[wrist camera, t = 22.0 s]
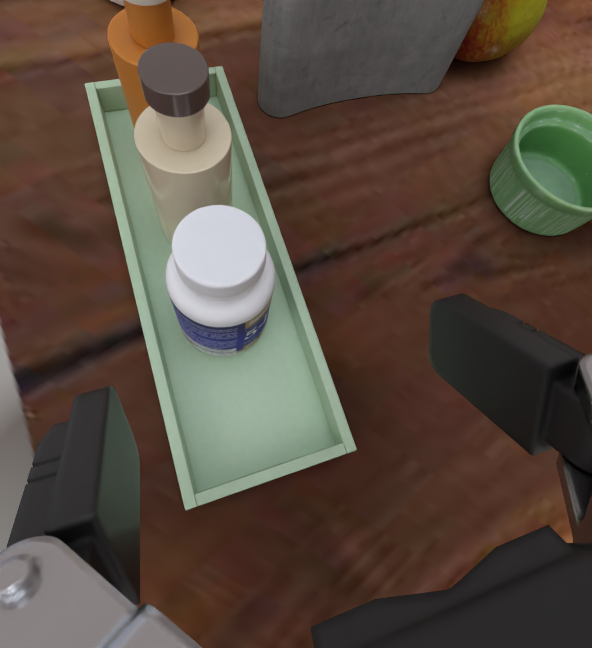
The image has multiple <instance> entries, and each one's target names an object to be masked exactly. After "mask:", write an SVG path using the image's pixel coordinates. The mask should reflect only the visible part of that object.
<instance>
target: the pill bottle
mask: <svg viewBox="0 0 592 648" xmlns="http://www.w3.org/2000/svg"><path fill="white" fill-rule="evenodd" d="M166 285H167V290H168V294H169V296H170V299H171V302H172V305H173V307H174V310H175V313H176V316H177V319H178V321H179V324H180V327H181V330H182V331H183V333H184V335H185V337H186V338H187V340H188V341H189V342H190V343H191V344H192V345H193V346H194V347H195V348H197V349H198V350H200V351H202V352H204V353H206V354H209V355H213V356H220V357H226V356H233V355H237V354H240V353H242V352H244V351H246V350H248V349H249V348H251V347H252V346H253V345H254V344H255V343H256V342H257V341H258V340H259V338H260V337H261V335H262V333H263V331H264V329H265V326H266V322H267V318H268V313H269V308H270V304H271V299H272V295H273V291H274V285H275V268H274V264H273V261H272V258H271V256H270V254H269V252H268V250H267V248H266V239H265V236H264V233H263V231H262V229H261V227H260V226H259V224H258V223H257V222H256V221H255V220H254V219H253V218H252V217H251V216H250V215H249V214H247V213H246V212H244V211H242V210H240V209H237V208H235V207H231V206H226V205H210V206H205V207H202V208H199V209H197V210H195V211H193V212H191V213H190V214H188V215H187V216H186V217H185V218H184V219H183V220H182V221H181V222H180V223H179V225H178V226H177V228H176V230H175V232H174V235H173V239H172V253H171V255H170V257H169V259H168V262H167V267H166Z"/></svg>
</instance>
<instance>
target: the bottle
mask: <svg viewBox="0 0 592 648" xmlns="http://www.w3.org/2000/svg"><path fill="white" fill-rule="evenodd" d="M110 1H112V2H114V3H116V4H119V5H122V6H124V2H123V0H110Z"/></svg>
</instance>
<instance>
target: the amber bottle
mask: <svg viewBox="0 0 592 648" xmlns="http://www.w3.org/2000/svg"><path fill="white" fill-rule="evenodd" d="M123 2H124V6H125V9H123V10H122V11H120V12H119V13H118V14H116V15H115V16H114V18H113V19H112V20H111V22H110V24H109V26H108V31H107V37H108V42H109V46H110V49H111V52H112V56H113V59H114V62H115V66H116V69H117V73H118V76H119V79H120V83H121V86H122V89H123V93H124V96H125V100H126V103H127V106H128V110H129V113H130V116H131V120H132V123H133V127H134V128H135V124H136V121H137V119H138V118H139V116H140V115H141V113H142V112H143V111H144V110H145V109H146V108H147V107H149V105H148V103H147V102H146V100H145V98H144V95H143V91H142V87H141V83H140V79H139V75H138V70H137V65H138V61H139V58H140V57H141V55H142V54H143V53H144V52H145V51H146V50H147V49H148V48H150V47H152V46H154V45H157V44H160V43H166V42H175V43H181V44H185V45H188V46H190V47H192V48H194V49H196V50H197V51H198V52H199V53H200V49H199V37H198V32H197V29H196V27H195V25H194V24H193V22H192V21H191V20H190V19H189V18H188V17H187V16H186V15H185V14H184V13H182V12H181V11H179V10H177V9H175V8H173V7H171V1H170V0H123Z"/></svg>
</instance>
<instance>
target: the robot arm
mask: <svg viewBox="0 0 592 648" xmlns="http://www.w3.org/2000/svg"><path fill="white" fill-rule="evenodd" d="M429 356H430V360H431V363H432V366H433V367H434V369H435V371H436V372H437V373H438V374H439V375H440V376H441V377H442V378H443V379H444V380H446V381H447V382H448V383H449V384H450V385H451V386H452V387H454V388H455V389H456V390H457V391H458V392H459V393H460V394H462V395H463V396H464V397H465V398H466V399H467V400H468V401H470V402H471V403H472V404H473V405H474V406H475V407H477V408H478V409H479V410H480V411H481V412H482V413H483V414H485V415H486V416H487V417H488V418H489V419H490V420H491V421H493V422H494V423H495V424H496V425H497V426H498V427H499V428H501V429H502V430H503V431H504V432H505V433H506V434H508V435H509V436H510V437H511V438H512V439H513V440H514V441H516V442H517V443H518V444H519V445H520V446H521V447H522V448H524V449H525V450H526V451H527V452H528V453H529V454H530V455H532V456H533V455H536V454H539V453H541V452H544V451H547V450H549V449H552V448H555V449H556V450H557V451H558V452H559V454H558V458H557V469H558V473H559V478H560V482H561V486H562V491H563V495H564V500H565V504H566V508H567V513H568V517H569V521H570V526H571V530H572V536H573V543H566V542H565V541H564V540H563V539H562V538H561V537H560V536H559V535H558V534H557V533H556V532H555V531H554V530H553V529H552V528H551V527H550V526H549V525H547V526H545V527H542V528H540V529H538V530H535V531H533V532H531V533H528V534H526V535H524V536H521V537H519V538H517V539H514V540H512V541H510V542H507V543H505V544H503V545H500V546H498V547H496V548H495V549H494V550H493V551H491V552H490V553H489V554H488V555H487V556H486V557H485V558H484V559H483V560H482V561H480V562H479V563H478V564H477V565H476V566H475V567H474V568H473V569H472V570H471V571H469V572H468V573H467V574H466V575H465V576H464V577H463V578H462V579H461V580H460V581H458V582H457V583H456V584H455V585H454V586H453V587H451V588H449V589H447V590H443V591H436V592H428V593H420V594H412V595H404V596H396V597H388V598H380V599H374V600H372V601H370V602H367V603H365V604H363V605H360V606H358V607H356V608H354V609H351V610H349V611H347V612H344V613H342V614H340V615H337V616H335V617H333V618H330V619H328V620H326V621H323V622H321V623H319V624H316V625H314V626H312V627H311V632H312V637H313V643H314V648H592V353H591V354H588V355H584V354H583V353H581V352H579V351H577V350H575V349H573V348H572V347H570V346H568V345H566V344H564V343H562V342H560V341H559V340H557V339H555V338H553V337H551V336H549V335H547V334H546V333H544V332H542V331H540V330H539V331H537V330H536V328H535V327H533V326H531V325H529V324H527V323H524V324H523V321H522V320H520V319H518V318H516V317H514V316H512V315H510V314H509V313H507V312H504V311H500V310H497V309H493V308H490V307H488V306H486V305H484V304H482V303H480V302H478V301H477V300H475V299H473V298H471V297H469V296H468V295H466V294H458V295H454V296H450V297H446V298H443V299H439V300H436V301H434V302H433V304H432V306H431V312H430V340H429ZM32 464H33V467H32V468H31V470H30V473H29V476H28V479H27V481H28V484H27V485H26V486H25V489H24V492H23V496H22V499H21V502H20V505H19V509H18V512H17V515H16V518H15V522H14V525H13V528H12V531H11V534H10V538H9V541H8V544H7V547H6V549H4V550H3V551H1V552H0V648H202V647H201V646H200V645H199V644H197V643H196V642H195V641H194V640H193V639H192V638H190V637H189V636H188V635H187V634H186V633H184V632H183V631H182V630H181V629H180V628H179V627H177V626H176V625H175V624H174V623H173V622H172V621H170V620H169V619H168V618H167V617H166V616H164V615H163V614H162V613H161V612H160V611H158V610H157V609H156V608H154V607H153V606H151V605H149V604H143V605H142V606H141V607H140V608H138V607H137V606H135V605H137V604H140V461H139V454H138V449H137V445H136V442H135V439H134V436H133V433H132V431H131V428H130V426H129V423H128V421H127V418H126V415H125V413H124V410H123V408H122V405H121V403H120V400H119V397H118V395H117V393H116V390H115V389H114V387H113V386H109V387H105V388H101V389H97V390H94V391H90V392H86V393H82V394H79V395H76V396H75V398H74V401H73V406H72V410H71V414H70V419H69V421H67V422H63V423H59V424H56V425H54V426H53V427H52V428H51V429H50V431H49V432H48V433H47V434H46V435H45V437H44V438H43V439H42V440H41V442H40V443H39V444H38V447H37V450H36V453H35V457H34V460H33V463H32Z"/></svg>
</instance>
